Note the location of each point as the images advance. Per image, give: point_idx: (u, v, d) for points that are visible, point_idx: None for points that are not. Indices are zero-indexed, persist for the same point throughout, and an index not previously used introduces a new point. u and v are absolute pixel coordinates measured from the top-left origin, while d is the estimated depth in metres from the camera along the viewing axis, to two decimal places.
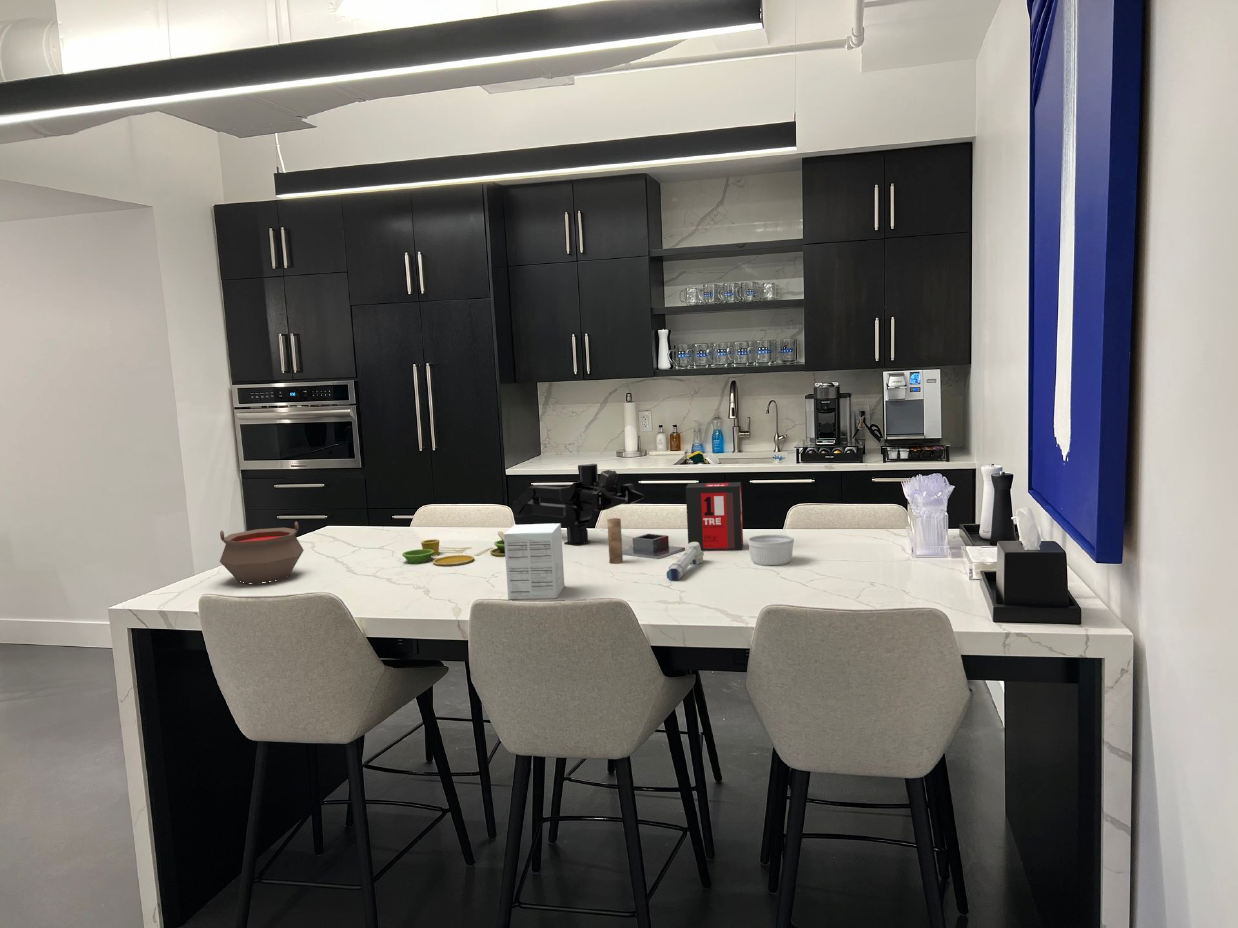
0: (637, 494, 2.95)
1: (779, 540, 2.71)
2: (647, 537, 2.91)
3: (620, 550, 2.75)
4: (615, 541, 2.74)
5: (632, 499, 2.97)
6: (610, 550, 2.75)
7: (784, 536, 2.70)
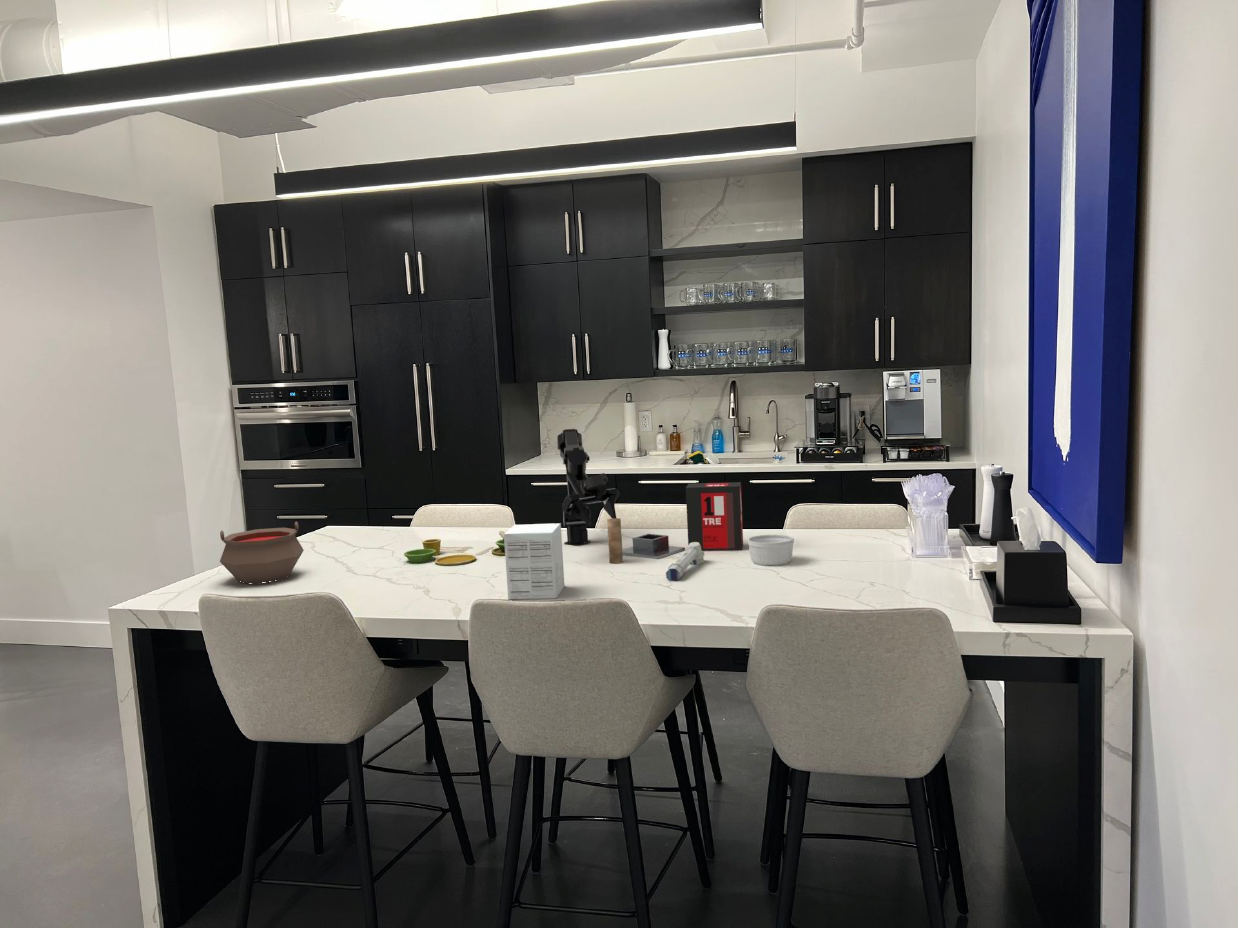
0: (612, 512, 2.83)
1: (779, 540, 2.71)
2: (647, 537, 2.91)
3: (620, 550, 2.75)
4: (615, 541, 2.74)
5: (607, 509, 2.85)
6: (610, 550, 2.75)
7: (784, 536, 2.70)
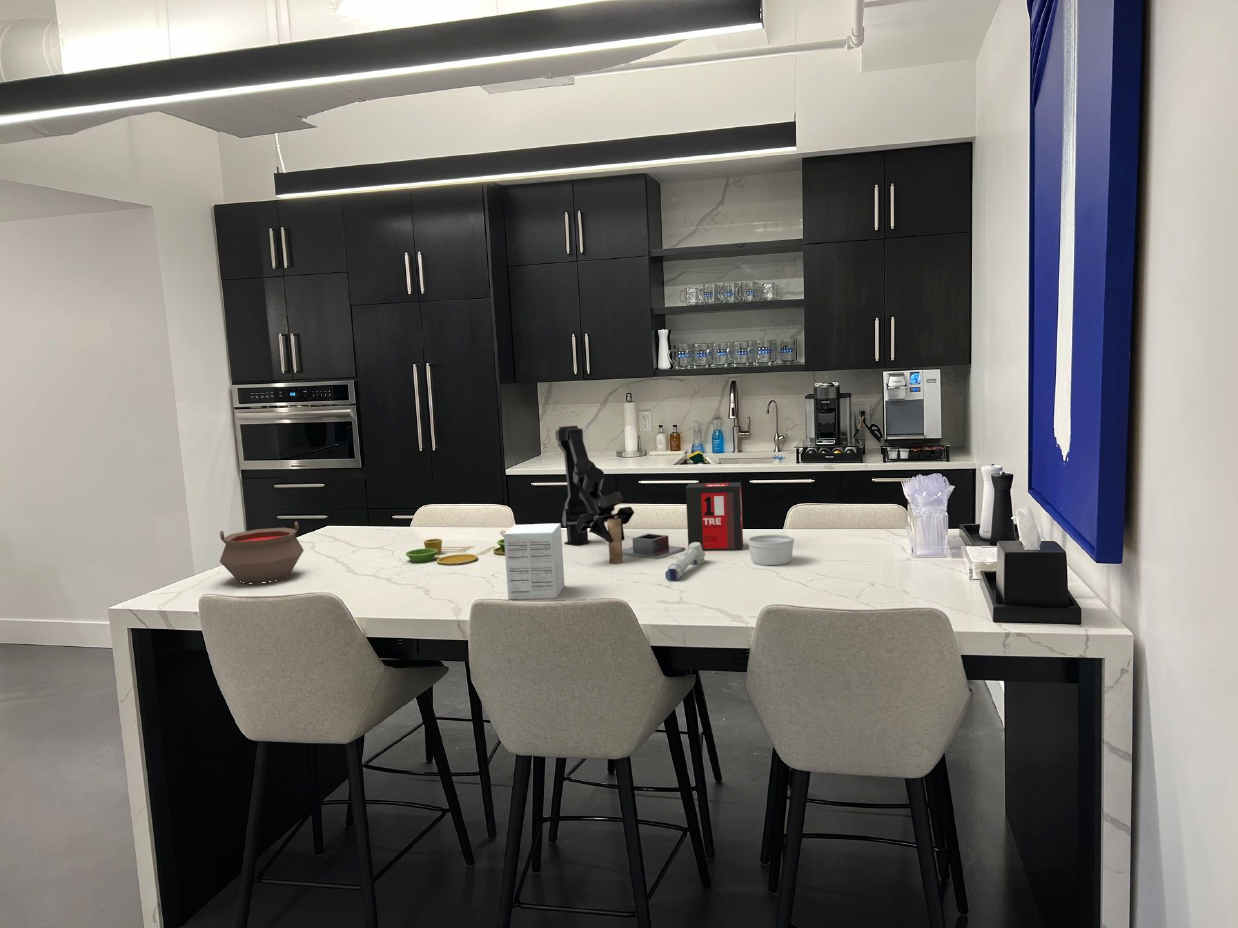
0: None
1: (779, 540, 2.71)
2: (647, 537, 2.91)
3: (620, 550, 2.75)
4: (615, 541, 2.74)
5: None
6: (610, 550, 2.75)
7: (784, 536, 2.70)
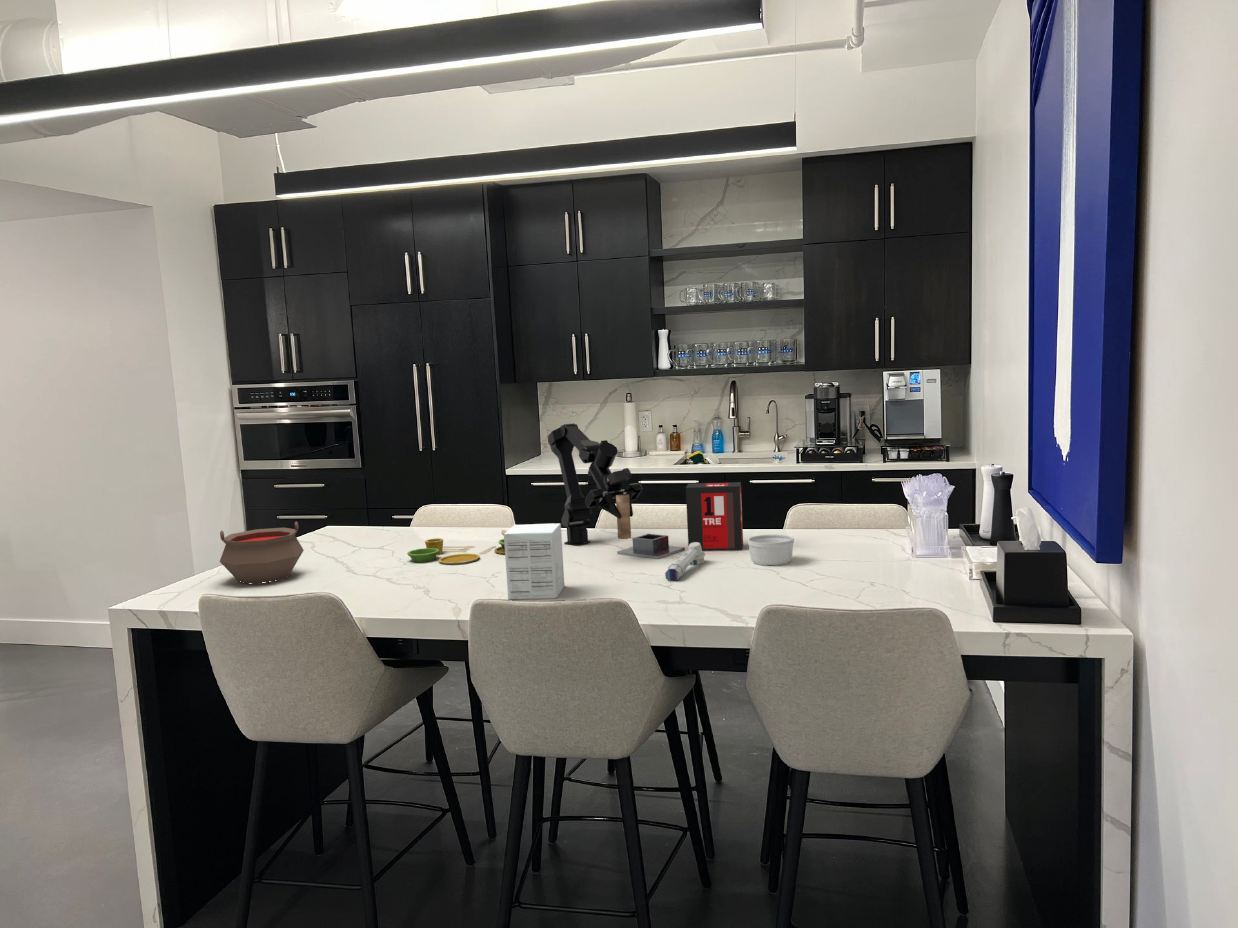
0: None
1: (779, 540, 2.71)
2: (647, 537, 2.91)
3: (628, 526, 2.77)
4: (623, 517, 2.76)
5: None
6: (618, 526, 2.77)
7: (784, 536, 2.70)
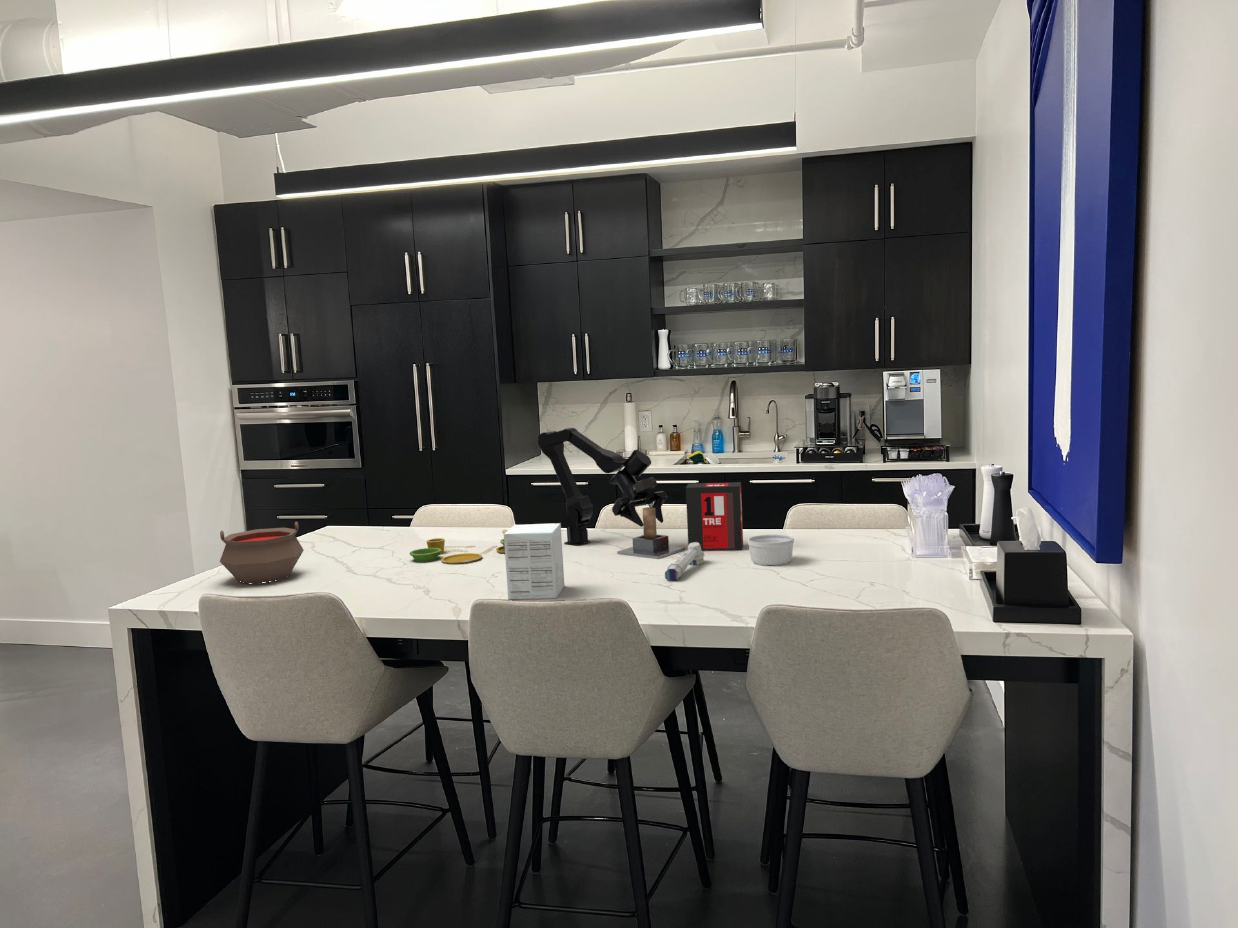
0: (659, 515, 2.89)
1: (779, 540, 2.71)
2: None
3: (654, 538, 2.86)
4: (650, 529, 2.85)
5: None
6: (645, 538, 2.86)
7: (784, 536, 2.70)
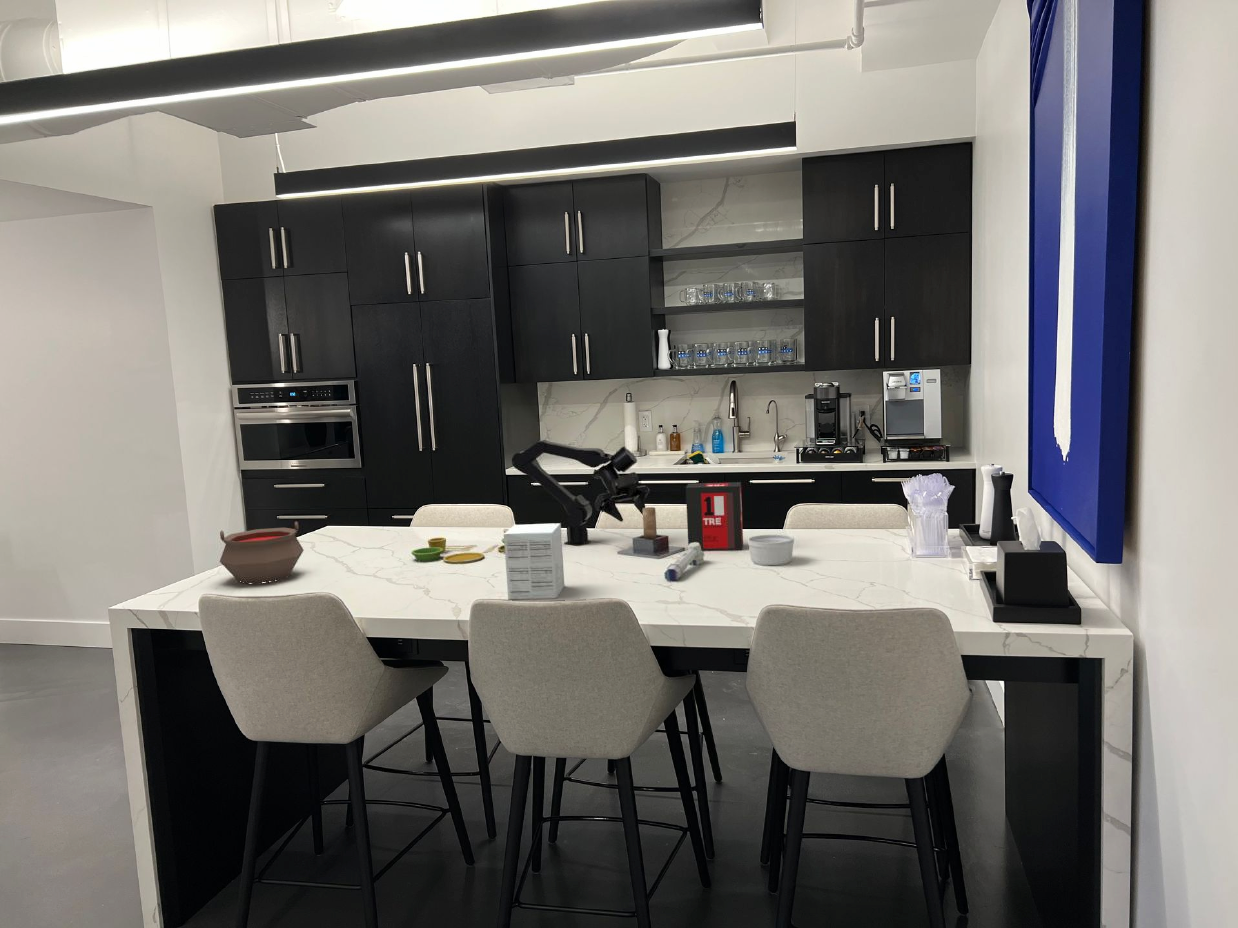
0: (642, 509, 2.97)
1: (779, 540, 2.71)
2: None
3: (654, 538, 2.86)
4: (650, 529, 2.85)
5: (638, 506, 2.99)
6: (645, 538, 2.86)
7: (784, 536, 2.70)
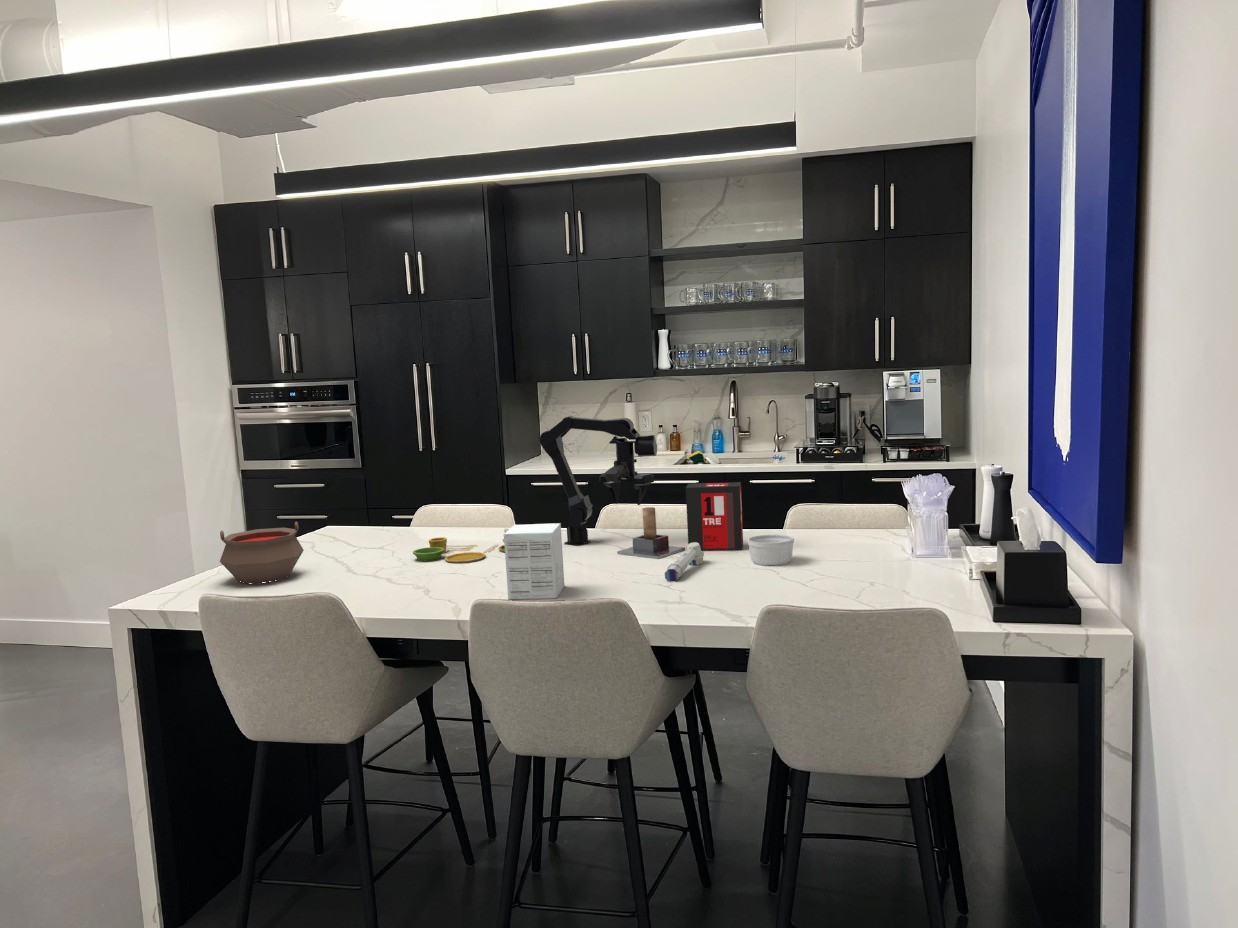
0: None
1: (779, 540, 2.71)
2: None
3: (654, 538, 2.86)
4: (650, 529, 2.85)
5: None
6: (645, 538, 2.86)
7: (784, 536, 2.70)
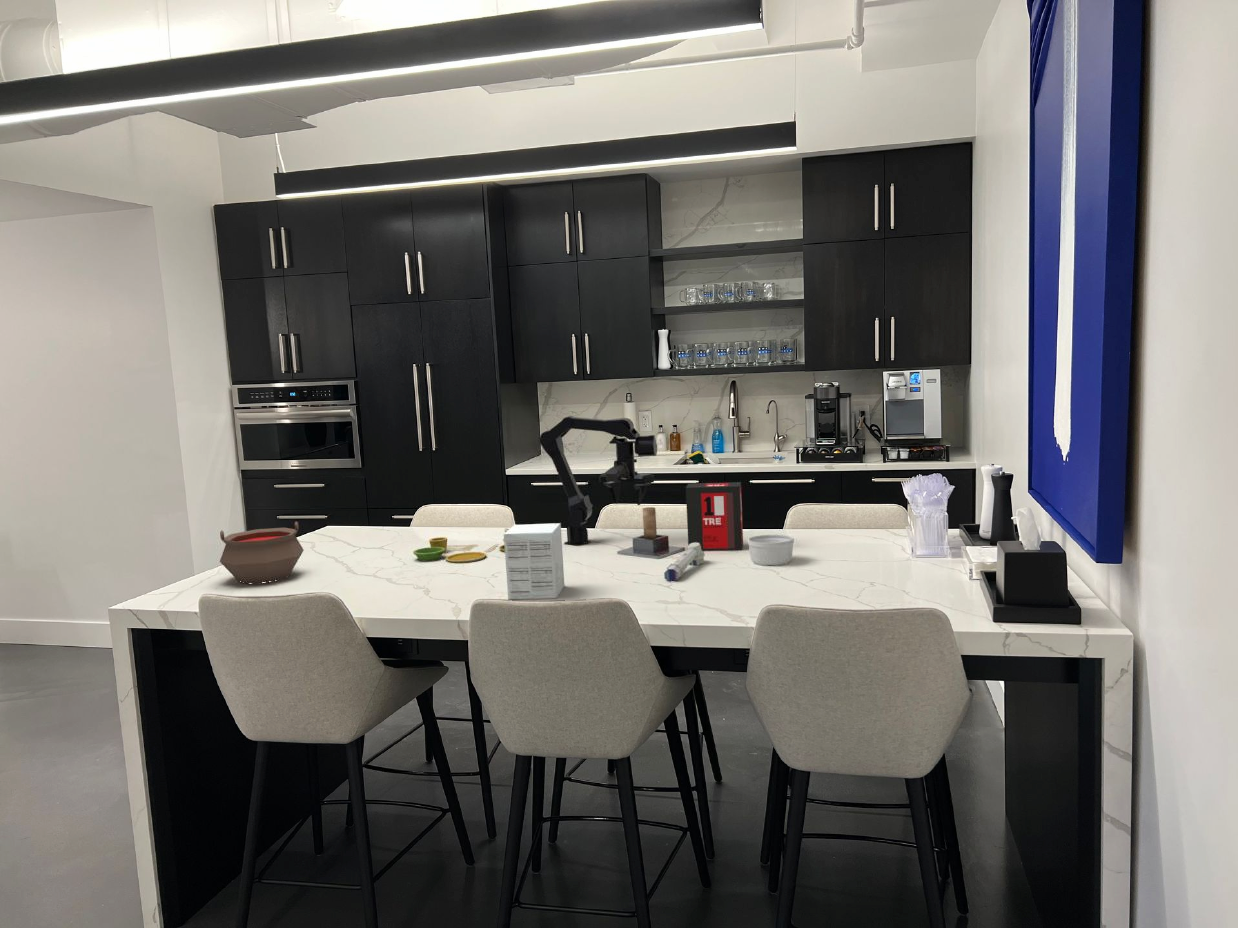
0: None
1: (779, 540, 2.71)
2: None
3: (655, 538, 2.86)
4: (650, 529, 2.85)
5: None
6: (645, 538, 2.86)
7: (784, 536, 2.70)
